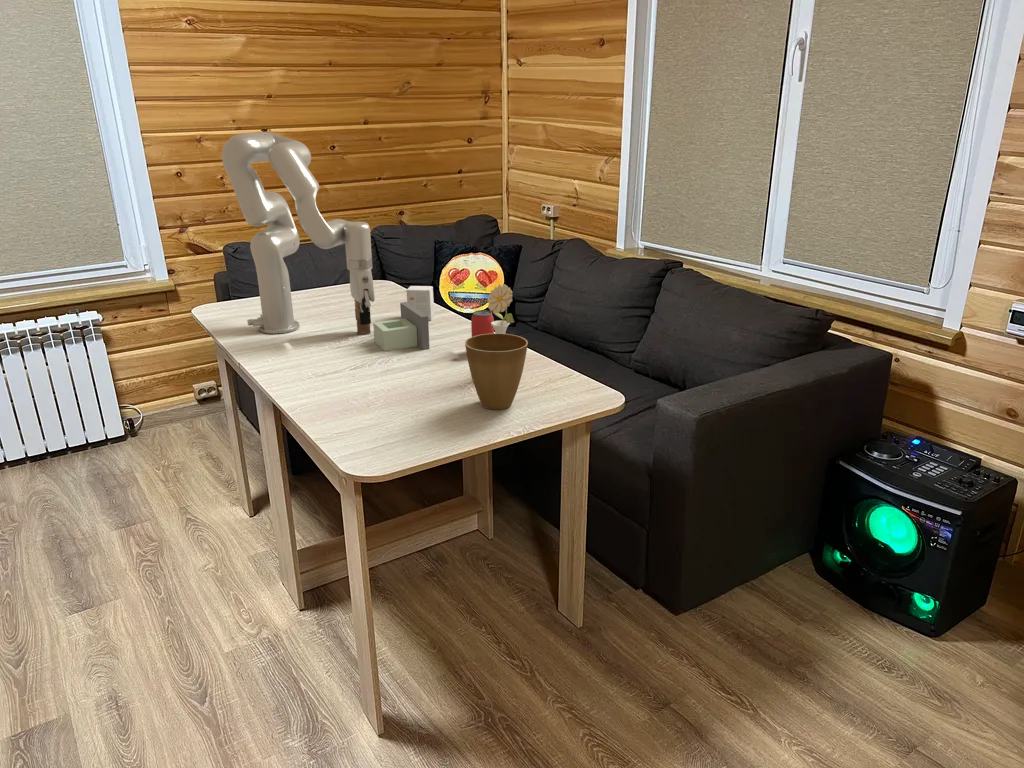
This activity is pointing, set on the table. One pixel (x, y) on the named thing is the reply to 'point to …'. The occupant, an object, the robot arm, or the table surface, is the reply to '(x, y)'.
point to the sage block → (395, 334)
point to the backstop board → (417, 323)
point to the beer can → (482, 323)
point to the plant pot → (496, 367)
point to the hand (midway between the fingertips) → (363, 321)
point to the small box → (421, 299)
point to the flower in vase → (500, 307)
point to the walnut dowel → (360, 328)
